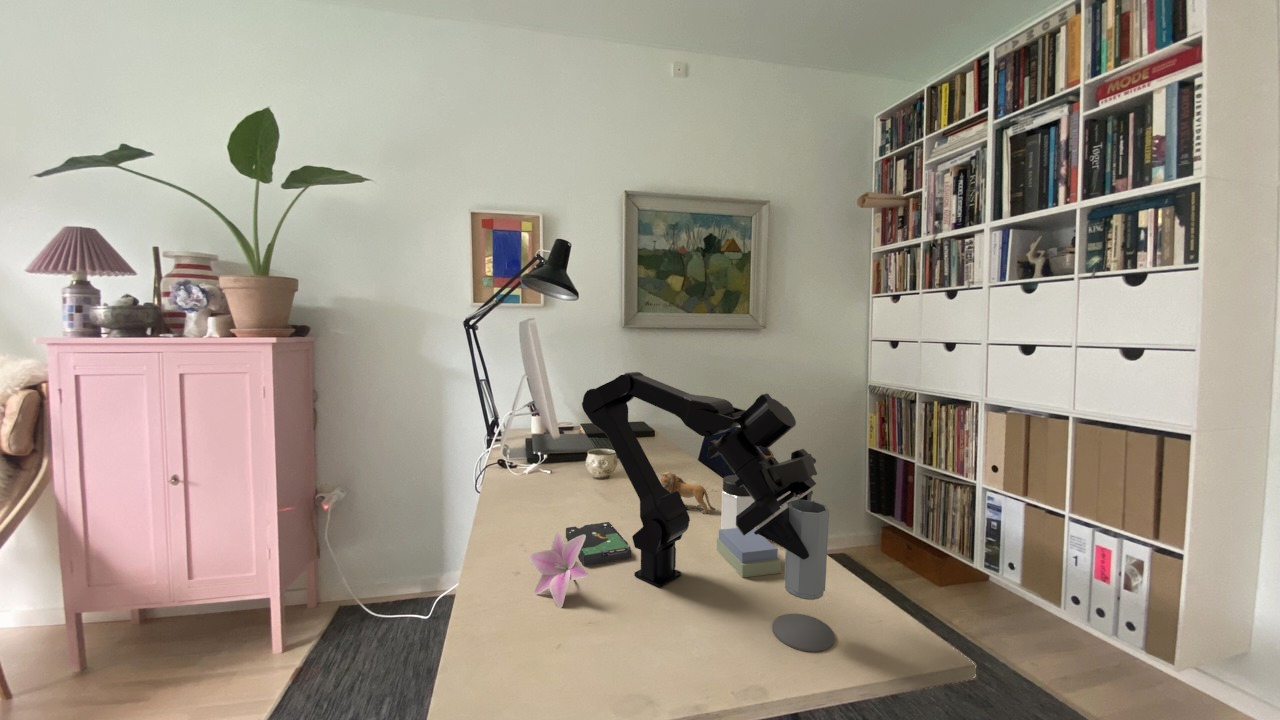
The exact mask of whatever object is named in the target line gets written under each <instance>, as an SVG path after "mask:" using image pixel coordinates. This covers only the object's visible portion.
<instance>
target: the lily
mask: <svg viewBox="0 0 1280 720" xmlns="http://www.w3.org/2000/svg"><path fill="white" fill-rule="evenodd" d="M585 538H586V535H580V536H578V537H576V538H574V539H572V540H570V541H568V540H567V542H566V543H565V541H564V539H563V536H562V534H561V533H560V531H556V533H555V535H554V537H553V540H552V544H551V549H545V550H540V551H535V552H532V553H531V554H529V555H528V560H529V562H530V563H531V565H532V566H533V567H534V568H535V569H536V570H537V572H539V573H540V574H541V576H540V578H539V579H538V582H537V584H536V586H535V589H534V595H536V596H537V595H539V594H541V593H543V592H545V591H547V590H548V589H549V591H550V594H551V597H552V598H553V601H554V603H555V605H556V606H557V607H558V608H560V609H562V607H563V605H564V603H565V599H566V598H565V597H566V595H567V591H568V587H569V584H570V581H573V582H576V580H580V579H585V578H588V577H589V572H588V571H587V570H586V569H585V567H584V566H583V565H582V564H580V563H579V562H578V561H577V560H578V555H579V552H580V550H581V548H582V546H583V543H584V541H585Z"/></svg>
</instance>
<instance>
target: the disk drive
mask: <svg viewBox="0 0 1280 720" xmlns="http://www.w3.org/2000/svg"><path fill="white" fill-rule="evenodd" d="M580 535H586V538H585V541H584V543H583V546H582V548H581V550H580V552H579V555H578V557H577V559H578V560H579V562H580V563H581V566H582V567H588V566H592V565H593V566H594V565H598V564H605V563H610V562H616V561H623V560H627V559H628V560H629V559H632V549H631V546H630V545H629V543H628V541H627V540H625V538H624V537H623V536H622V535H621V534H620V532H618V531H617V529H616V528H615V527H614V525H613V524H612V523H611V522H609V521H605V522H600V523H599V522H598V523H591V524H584V525H583V526H581V527H577V526H570V527H569V526H568V527H565V538H566V541H567V542H568V541H570V540H572V539H574V538H576V537H578V536H580Z"/></svg>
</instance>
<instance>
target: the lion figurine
mask: <svg viewBox="0 0 1280 720" xmlns="http://www.w3.org/2000/svg"><path fill="white" fill-rule="evenodd" d="M659 481H660V482H661V484H662V486H663V487H664V488H665V489H666V490H667V491H669V492H670V493H672V492H674V491H678V492H679V494H680V495H681V498H687V499H690V498H691V499H692V498H693V497H694V498H695V500H696V502H697V503H698V504H697V505H696V506H695V508H697V509H701V508H703V510H701V513H702V514H704V515H705V514H707V513H708V507H709V509H711V510H712V511H716V507H713V506H712V505H711V504H710V499H709V496H708V493H707V490H706V489H705V487H704V486H703V485H702V484H700V483H699V484H698V483H693V484H691V483H686V482H685V481H684V480H683V479H682V478H681V477H680V476H676V474H675V473H672V472H669V471H665V472H663V473H661V474H660V479H659ZM704 496H705V499H706V502H705V501H704ZM707 504H708V505H707Z"/></svg>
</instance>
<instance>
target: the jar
mask: <svg viewBox="0 0 1280 720" xmlns="http://www.w3.org/2000/svg"><path fill="white" fill-rule="evenodd" d="M737 480H738V478H737V477H736V475H735V474H731V475H730V474H729V475H726V476H724V477H723V478H722V491H721V515H720V516H721V520H720V521H721V522H720V523H721V524H720V527H721V528H720V530H721V529H731V528H738V527H737V526H736V516H737V515H739V514H740V513H741V512H742V511H744V510H745V509H746V508H748V507H749V506H750V505H751V504H752V503H753V502H755V501H754V500H753V498H752V497H751V496H750V494H749V493H748V491H747V490H746V489H745V487H744V486H741V487H739V488H738V487H737V485H736V484H735V482H736V481H737ZM754 529H755V530H758V529H759V526H756V527H755V528H754Z"/></svg>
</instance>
